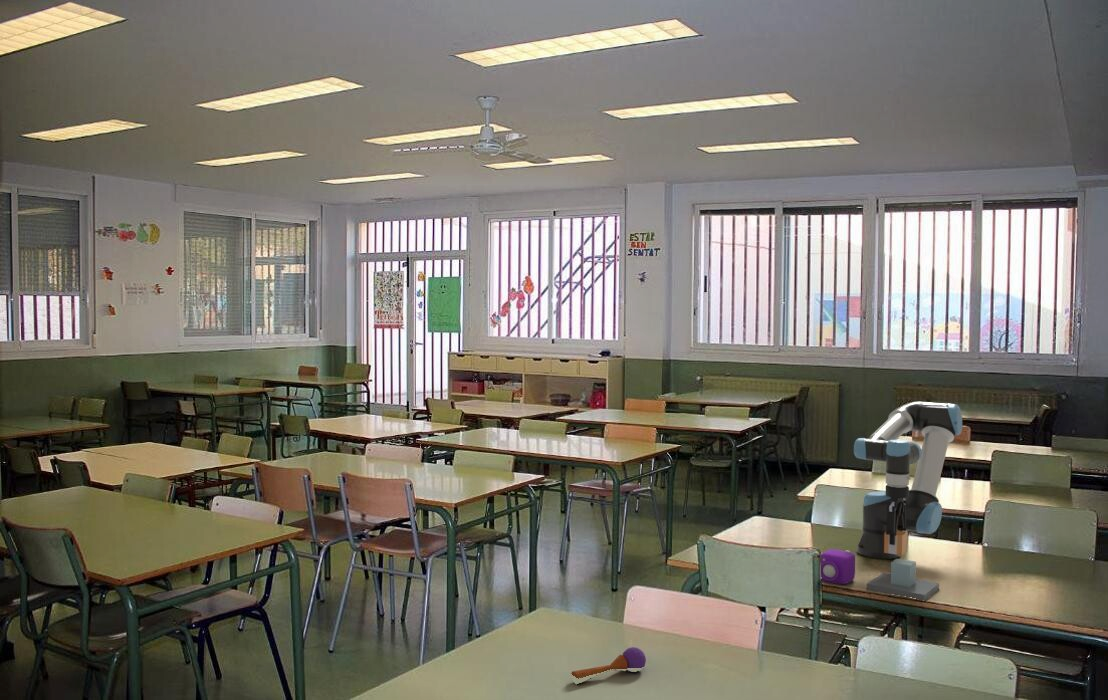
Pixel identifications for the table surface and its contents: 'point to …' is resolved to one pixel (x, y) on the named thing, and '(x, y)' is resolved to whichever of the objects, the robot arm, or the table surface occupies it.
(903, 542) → the orange brick
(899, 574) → the teal brick
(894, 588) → the base plate
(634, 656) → the purple and brown microphone
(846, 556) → the toy camera
